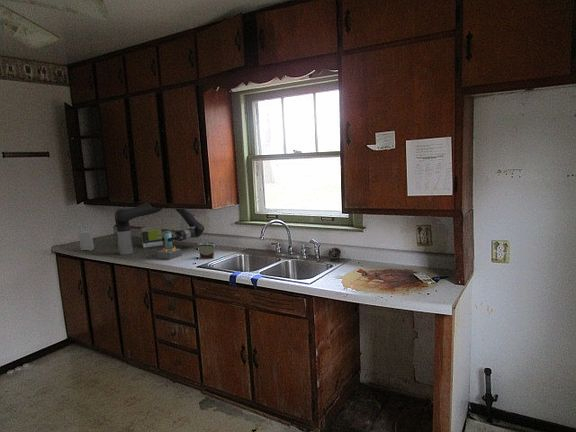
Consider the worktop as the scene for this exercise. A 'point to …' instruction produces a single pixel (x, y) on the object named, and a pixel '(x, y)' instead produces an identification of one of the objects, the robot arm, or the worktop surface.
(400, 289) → the worktop surface
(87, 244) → the skincare box
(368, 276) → the worktop surface
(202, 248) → the food container
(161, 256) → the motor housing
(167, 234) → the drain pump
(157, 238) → the tea box
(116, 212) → the robot arm
